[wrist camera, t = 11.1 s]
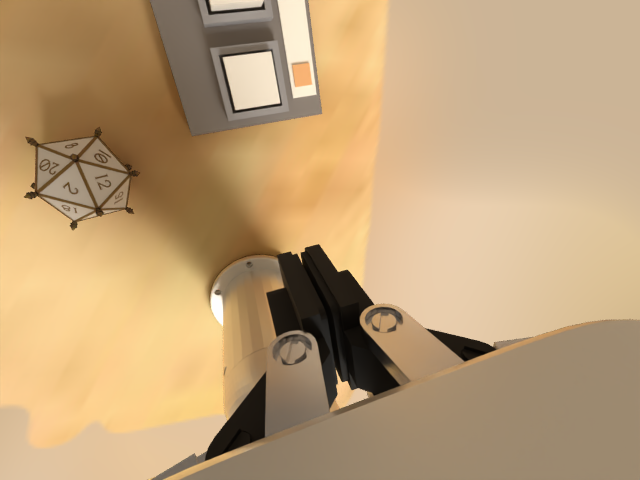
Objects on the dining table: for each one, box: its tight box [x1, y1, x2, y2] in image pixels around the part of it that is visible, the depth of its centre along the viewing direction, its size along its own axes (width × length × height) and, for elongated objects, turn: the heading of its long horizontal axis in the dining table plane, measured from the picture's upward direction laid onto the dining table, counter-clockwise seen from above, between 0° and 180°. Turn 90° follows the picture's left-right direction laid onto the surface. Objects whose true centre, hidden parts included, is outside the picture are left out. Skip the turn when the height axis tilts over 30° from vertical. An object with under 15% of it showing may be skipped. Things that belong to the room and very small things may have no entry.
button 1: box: [223, 51, 280, 110], centre depth 30 cm, size 4×4×2 cm
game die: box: [24, 127, 140, 230], centre depth 28 cm, size 9×8×10 cm
